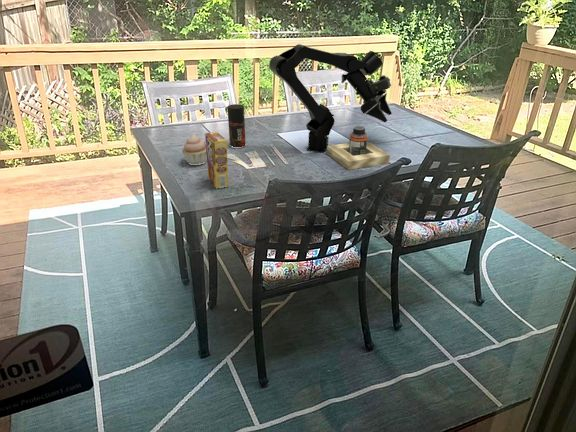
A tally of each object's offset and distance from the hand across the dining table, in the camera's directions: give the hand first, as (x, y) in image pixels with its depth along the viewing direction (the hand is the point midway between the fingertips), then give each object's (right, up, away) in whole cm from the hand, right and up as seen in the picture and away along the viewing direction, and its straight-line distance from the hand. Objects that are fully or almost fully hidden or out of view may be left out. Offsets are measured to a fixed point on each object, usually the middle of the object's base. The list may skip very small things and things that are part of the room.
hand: (388, 117), depth 168 cm
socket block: (-12, -15, -4) cm, 20 cm away
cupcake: (-68, -17, -8) cm, 71 cm away
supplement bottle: (-12, -15, -3) cm, 20 cm away
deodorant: (-55, -9, +7) cm, 57 cm away
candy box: (-58, -25, -22) cm, 67 cm away
